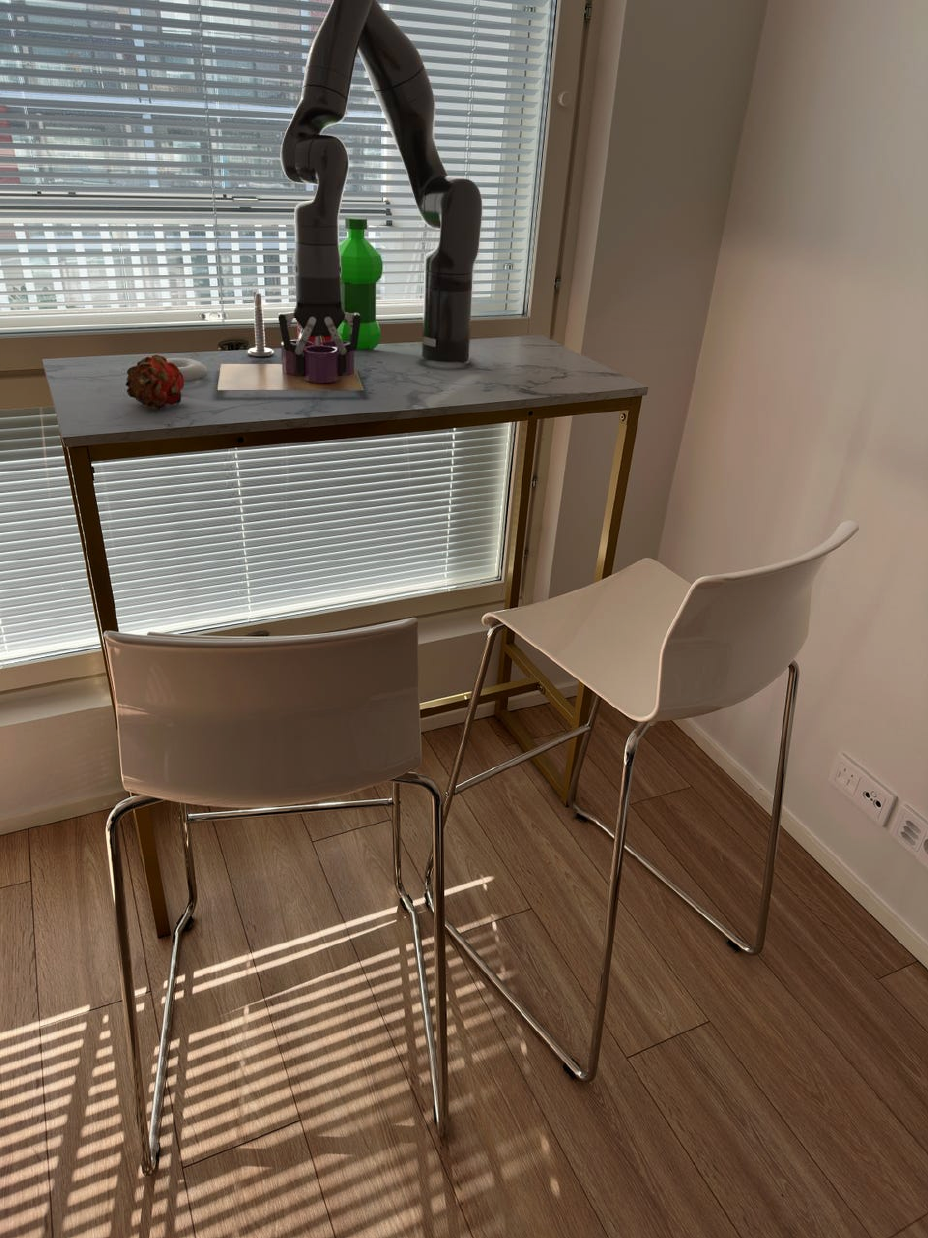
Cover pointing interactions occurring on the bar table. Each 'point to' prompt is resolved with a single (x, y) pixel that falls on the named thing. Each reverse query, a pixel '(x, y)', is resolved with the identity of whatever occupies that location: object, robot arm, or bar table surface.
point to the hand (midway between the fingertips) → (321, 374)
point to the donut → (189, 368)
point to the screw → (259, 330)
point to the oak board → (276, 379)
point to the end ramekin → (348, 357)
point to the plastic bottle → (360, 283)
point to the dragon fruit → (155, 382)
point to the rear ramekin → (291, 359)
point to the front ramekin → (321, 364)
